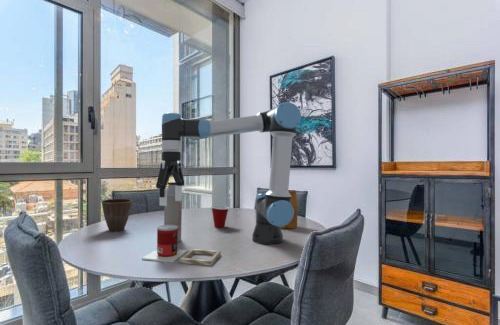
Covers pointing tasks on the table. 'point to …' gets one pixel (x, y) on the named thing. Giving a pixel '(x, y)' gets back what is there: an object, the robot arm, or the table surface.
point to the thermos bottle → (173, 209)
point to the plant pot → (116, 213)
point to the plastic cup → (219, 215)
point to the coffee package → (294, 203)
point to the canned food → (167, 240)
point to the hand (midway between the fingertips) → (171, 203)
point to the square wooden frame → (198, 261)
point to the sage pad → (155, 257)
